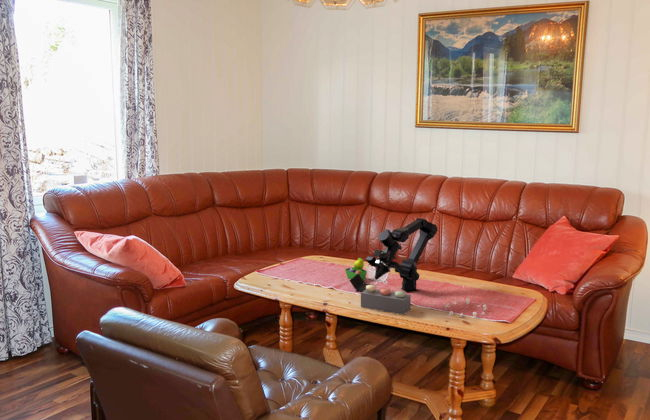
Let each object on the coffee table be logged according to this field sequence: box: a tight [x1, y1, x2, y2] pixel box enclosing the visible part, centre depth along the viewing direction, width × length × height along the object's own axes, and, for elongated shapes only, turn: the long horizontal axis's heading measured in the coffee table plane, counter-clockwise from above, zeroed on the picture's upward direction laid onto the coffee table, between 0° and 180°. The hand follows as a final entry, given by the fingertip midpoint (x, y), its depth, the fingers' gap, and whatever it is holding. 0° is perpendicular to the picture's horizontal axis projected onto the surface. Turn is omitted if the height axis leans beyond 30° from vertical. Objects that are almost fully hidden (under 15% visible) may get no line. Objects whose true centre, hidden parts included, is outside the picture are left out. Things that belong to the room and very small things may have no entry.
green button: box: [395, 290, 406, 298], centre depth 267 cm, size 5×5×4 cm
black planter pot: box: [349, 274, 377, 293], centre depth 301 cm, size 13×8×11 cm
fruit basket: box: [344, 257, 368, 281], centre depth 316 cm, size 11×9×11 cm
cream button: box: [366, 284, 377, 293], centre depth 275 cm, size 5×5×4 cm
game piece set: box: [444, 297, 487, 319], centre depth 267 cm, size 19×20×4 cm
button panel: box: [360, 288, 412, 316], centre depth 272 cm, size 22×8×7 cm, turn 59°
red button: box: [379, 288, 392, 295], centre depth 271 cm, size 5×5×4 cm
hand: (375, 278), depth 276 cm, fingers closed
